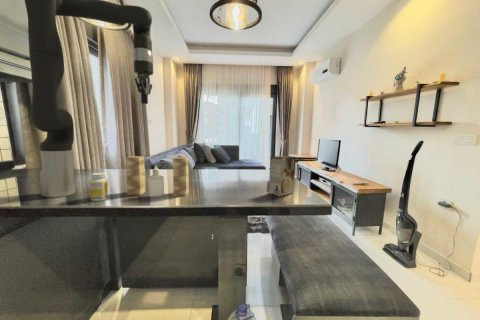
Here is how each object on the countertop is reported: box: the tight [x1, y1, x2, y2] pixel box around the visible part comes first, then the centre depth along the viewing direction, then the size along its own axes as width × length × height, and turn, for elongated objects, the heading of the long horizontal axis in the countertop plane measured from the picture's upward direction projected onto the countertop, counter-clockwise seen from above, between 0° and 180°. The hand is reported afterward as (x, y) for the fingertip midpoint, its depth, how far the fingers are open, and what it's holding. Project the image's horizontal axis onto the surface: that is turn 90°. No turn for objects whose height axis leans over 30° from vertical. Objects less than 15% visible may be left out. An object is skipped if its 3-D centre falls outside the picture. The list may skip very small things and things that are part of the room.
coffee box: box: [268, 155, 296, 197], centre depth 93 cm, size 9×6×16 cm
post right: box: [172, 156, 190, 197], centre depth 89 cm, size 5×5×15 cm
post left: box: [125, 155, 146, 196], centre depth 88 cm, size 5×5×15 cm
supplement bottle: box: [89, 172, 109, 202], centre depth 81 cm, size 5×5×10 cm
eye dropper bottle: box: [147, 165, 165, 198], centre depth 86 cm, size 4×6×12 cm
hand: (144, 103), depth 95 cm, fingers closed
